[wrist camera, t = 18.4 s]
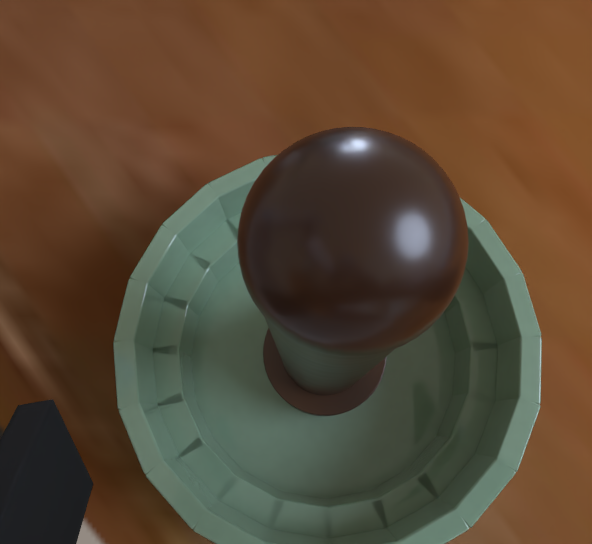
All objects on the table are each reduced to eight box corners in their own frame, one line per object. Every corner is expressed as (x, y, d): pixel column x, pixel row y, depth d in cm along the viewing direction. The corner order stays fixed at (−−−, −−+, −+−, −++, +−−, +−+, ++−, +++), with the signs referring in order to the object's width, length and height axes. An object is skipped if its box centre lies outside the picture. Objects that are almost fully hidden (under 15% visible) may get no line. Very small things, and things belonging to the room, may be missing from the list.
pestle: (276, 425, 23) (190, 429, 6) (258, 312, 24) (151, 64, 8) (391, 405, 23) (615, 355, 6) (367, 293, 25) (497, 10, 8)
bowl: (173, 571, 22) (130, 618, 17) (142, 230, 26) (101, 182, 21) (532, 506, 22) (602, 531, 17) (443, 181, 27) (477, 122, 21)
